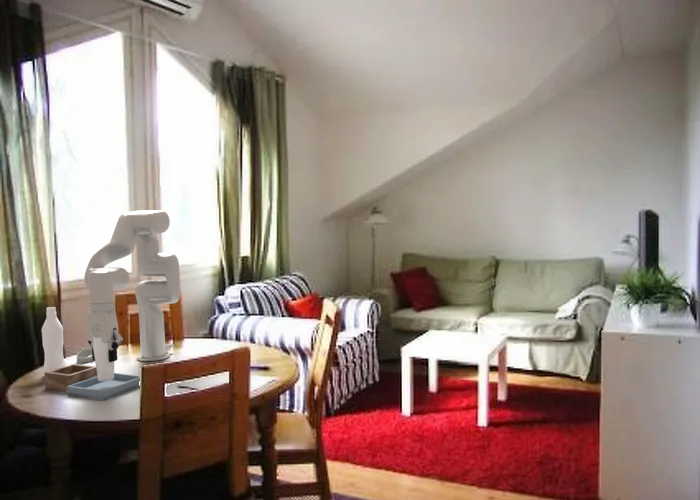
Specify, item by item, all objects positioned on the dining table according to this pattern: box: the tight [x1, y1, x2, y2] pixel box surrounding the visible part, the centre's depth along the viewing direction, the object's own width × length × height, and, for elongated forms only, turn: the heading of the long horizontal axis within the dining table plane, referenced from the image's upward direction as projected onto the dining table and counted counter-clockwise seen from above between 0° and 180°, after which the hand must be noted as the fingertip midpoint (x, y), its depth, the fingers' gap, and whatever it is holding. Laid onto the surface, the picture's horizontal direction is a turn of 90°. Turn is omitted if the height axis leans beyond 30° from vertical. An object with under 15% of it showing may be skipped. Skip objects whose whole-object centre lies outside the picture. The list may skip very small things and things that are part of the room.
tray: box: [66, 372, 141, 401], centre depth 207 cm, size 18×16×3 cm
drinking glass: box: [93, 337, 115, 381], centre depth 206 cm, size 7×7×15 cm
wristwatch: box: [76, 348, 95, 364], centre depth 248 cm, size 9×6×5 cm
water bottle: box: [41, 306, 66, 373], centre depth 228 cm, size 7×7×25 cm
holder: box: [44, 363, 97, 392], centre depth 214 cm, size 12×12×6 cm
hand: (105, 359), depth 207 cm, fingers closed on drinking glass, 6 cm apart
